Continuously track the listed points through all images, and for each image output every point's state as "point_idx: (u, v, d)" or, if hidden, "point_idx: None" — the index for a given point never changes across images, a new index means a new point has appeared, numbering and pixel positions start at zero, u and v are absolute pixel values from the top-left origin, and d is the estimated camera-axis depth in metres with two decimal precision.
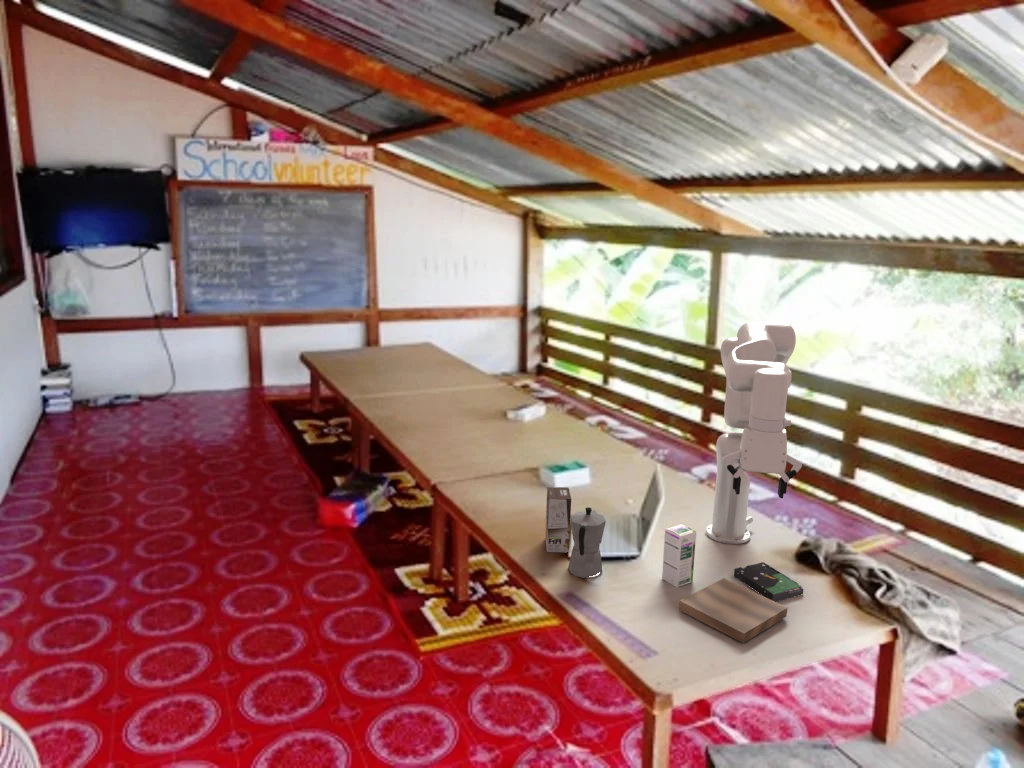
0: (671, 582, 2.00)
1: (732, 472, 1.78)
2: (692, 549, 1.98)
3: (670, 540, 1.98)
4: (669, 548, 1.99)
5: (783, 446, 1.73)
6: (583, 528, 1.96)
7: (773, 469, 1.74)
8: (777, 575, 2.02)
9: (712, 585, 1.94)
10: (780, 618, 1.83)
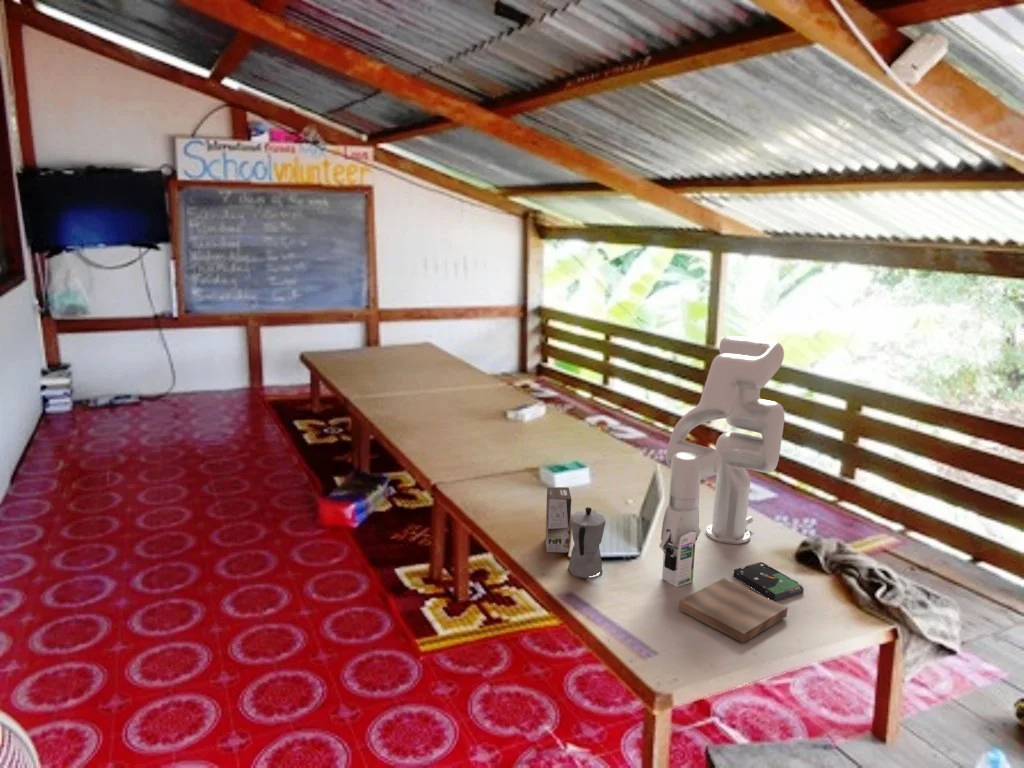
0: (671, 582, 2.00)
1: (670, 553, 1.96)
2: (692, 549, 1.98)
3: None
4: None
5: (698, 515, 1.98)
6: (583, 528, 1.96)
7: None
8: (776, 575, 2.02)
9: (712, 585, 1.94)
10: (780, 618, 1.83)
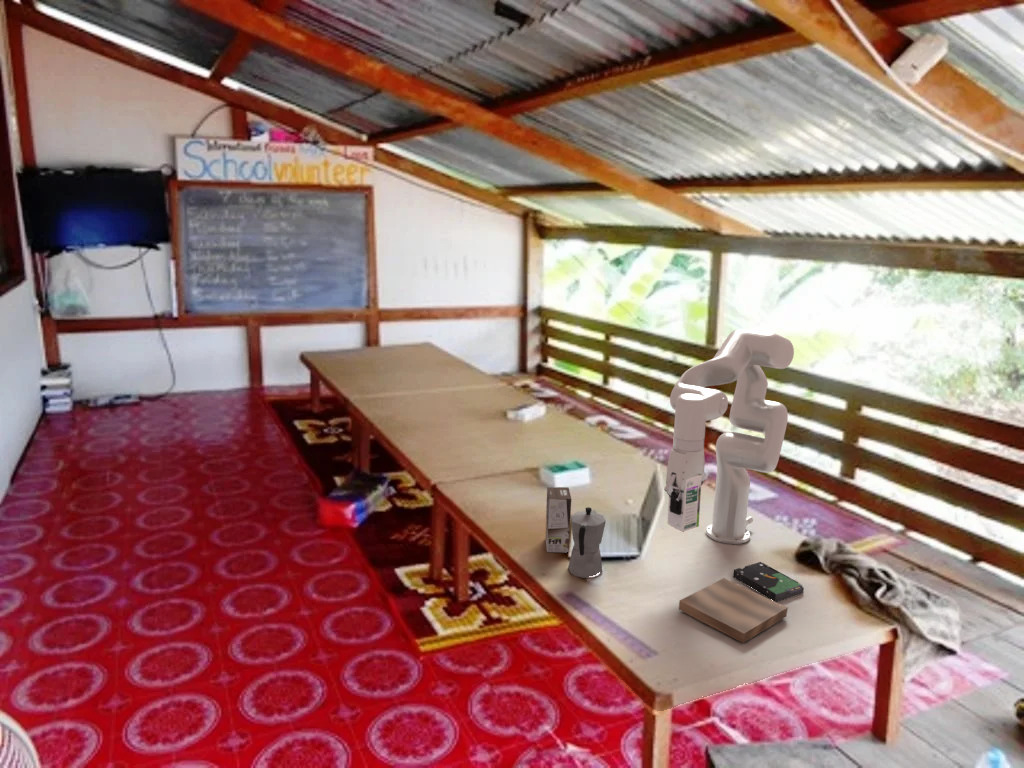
0: (677, 527, 1.97)
1: (675, 497, 1.93)
2: (698, 493, 1.95)
3: (676, 484, 1.95)
4: None
5: (703, 458, 1.95)
6: (583, 528, 1.96)
7: None
8: (776, 574, 2.02)
9: (712, 585, 1.94)
10: (780, 618, 1.83)
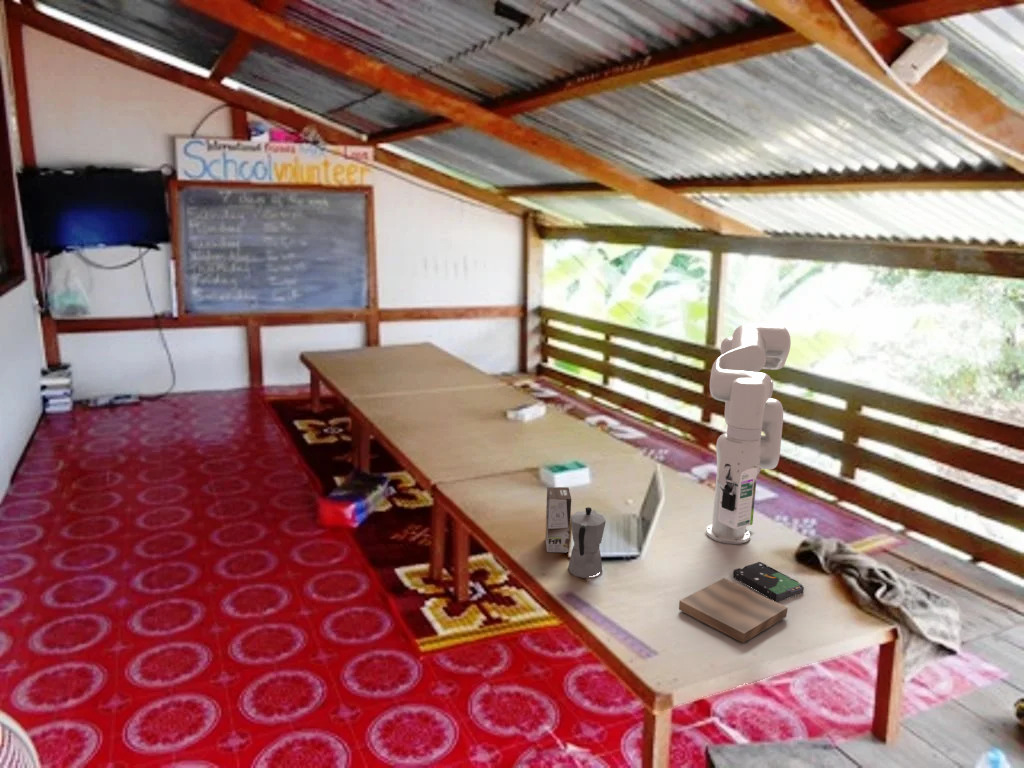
0: (729, 524, 1.80)
1: (728, 491, 1.76)
2: (753, 487, 1.78)
3: (729, 477, 1.78)
4: None
5: (760, 449, 1.78)
6: (583, 528, 1.96)
7: None
8: (776, 574, 2.02)
9: (712, 585, 1.94)
10: (780, 618, 1.83)
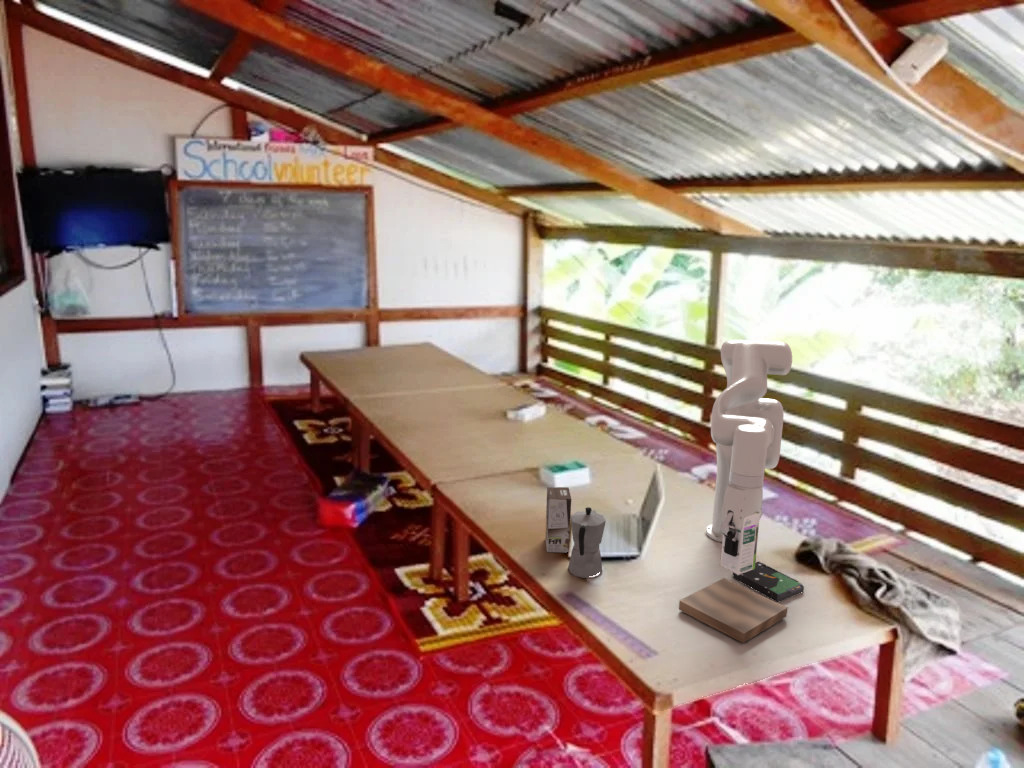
0: (731, 569, 1.81)
1: (731, 537, 1.77)
2: (755, 532, 1.79)
3: (731, 523, 1.79)
4: None
5: (762, 495, 1.79)
6: (583, 528, 1.96)
7: None
8: (776, 574, 2.02)
9: (712, 585, 1.94)
10: (780, 618, 1.83)
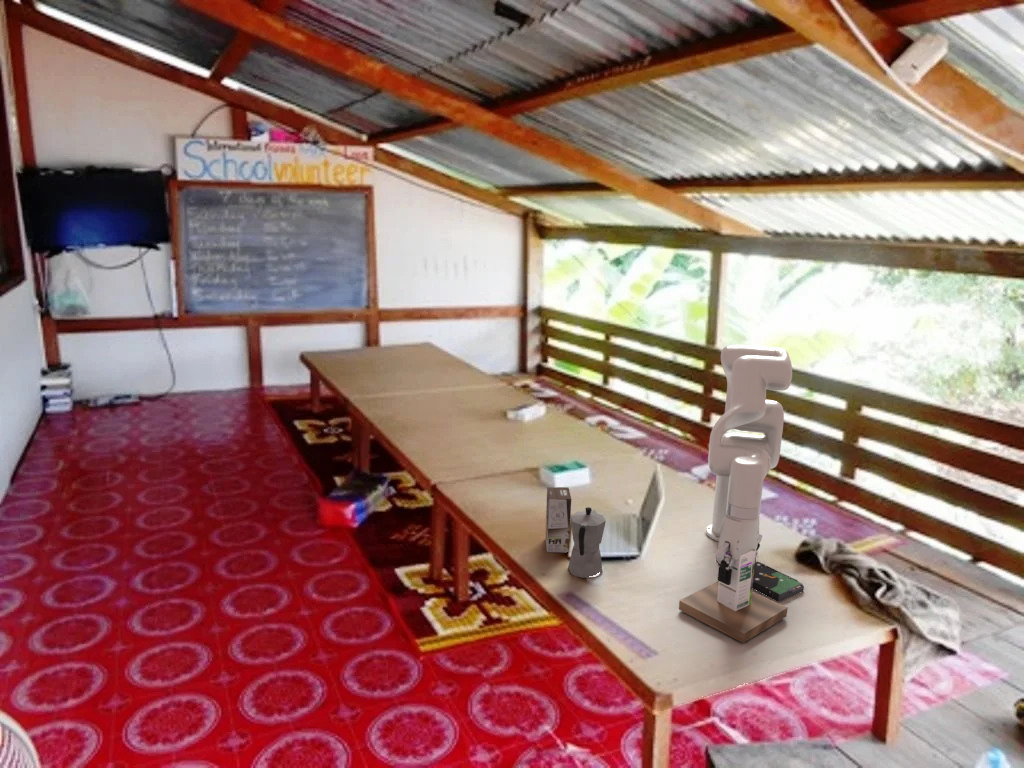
0: (728, 605, 1.83)
1: (725, 565, 1.78)
2: (751, 569, 1.82)
3: (728, 560, 1.82)
4: None
5: (758, 525, 1.81)
6: (583, 528, 1.96)
7: (752, 549, 1.82)
8: (775, 574, 2.02)
9: (712, 585, 1.94)
10: (780, 618, 1.83)
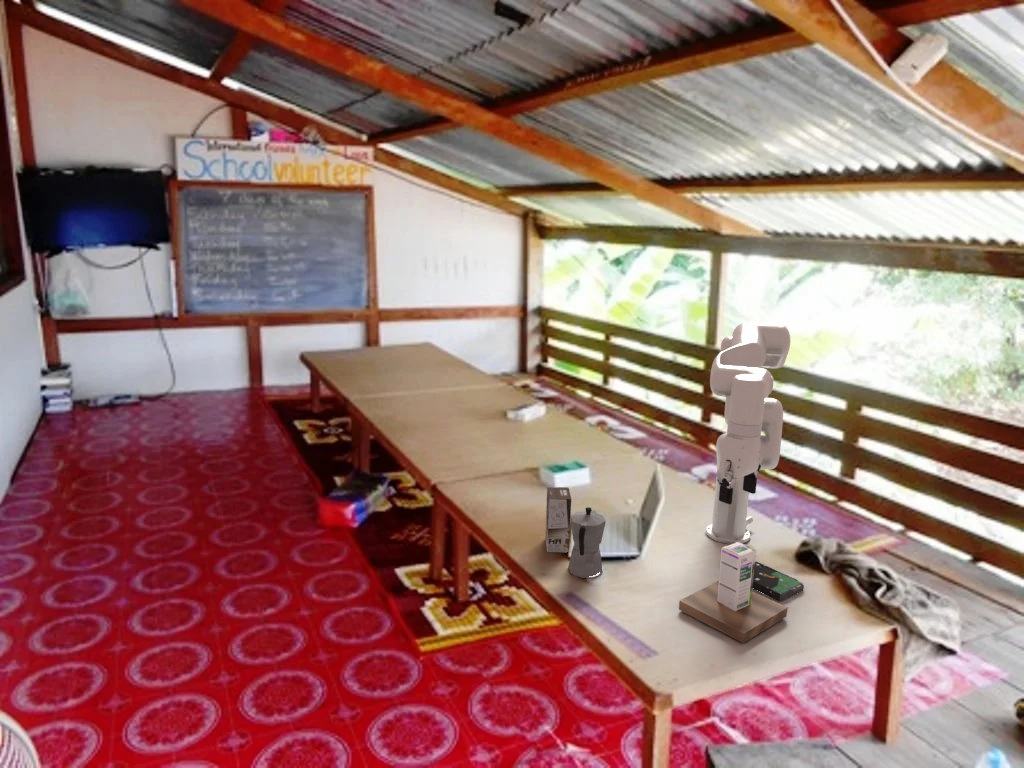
0: (728, 605, 1.83)
1: (726, 484, 1.76)
2: (751, 569, 1.82)
3: (728, 560, 1.82)
4: (726, 568, 1.82)
5: (760, 444, 1.80)
6: (583, 528, 1.96)
7: (753, 469, 1.80)
8: (775, 573, 2.03)
9: (712, 585, 1.94)
10: (780, 618, 1.83)
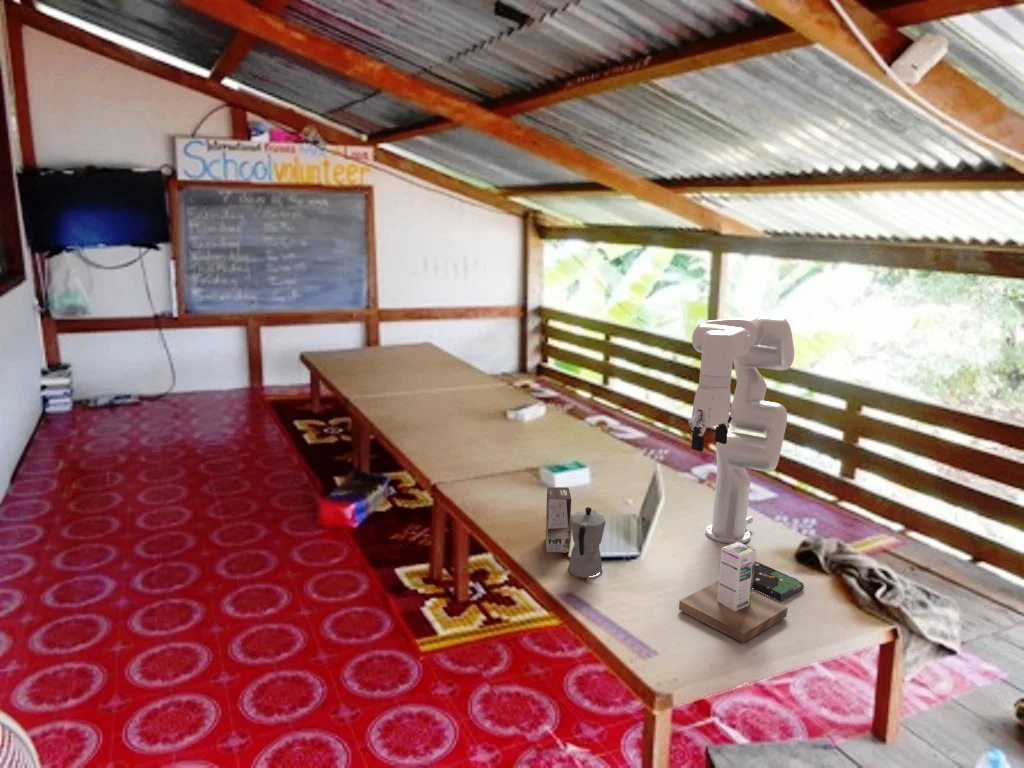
0: (728, 605, 1.83)
1: (697, 432, 1.89)
2: (751, 569, 1.82)
3: (728, 560, 1.82)
4: (726, 568, 1.82)
5: (730, 397, 1.93)
6: (583, 528, 1.96)
7: (724, 420, 1.94)
8: (774, 573, 2.03)
9: (712, 585, 1.94)
10: (780, 618, 1.83)
